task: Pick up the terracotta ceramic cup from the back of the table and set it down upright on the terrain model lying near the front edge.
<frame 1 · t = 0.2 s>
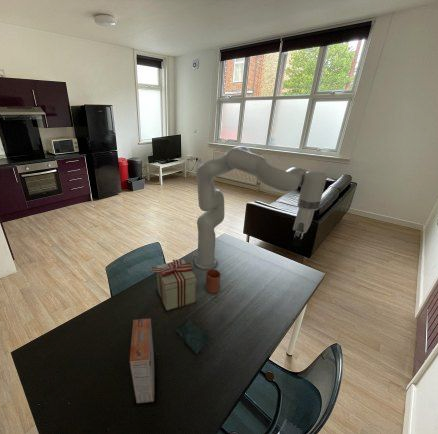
hand: (299, 241, 100), 31 cm above the table, tool pointing down, fingers open, 9 cm apart
gift box: (173, 295, 115), on the table
cup: (212, 288, 119), on the table
terrain model: (192, 337, 94), on the table
cracker box: (145, 380, 80), on the table
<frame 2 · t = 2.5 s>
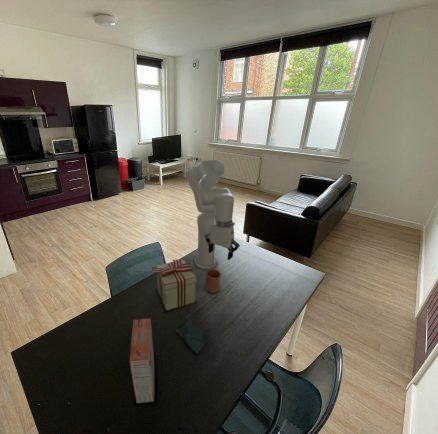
hand: (220, 255, 110), 20 cm above the table, tool pointing down, fingers open, 9 cm apart
nothing on the table moved.
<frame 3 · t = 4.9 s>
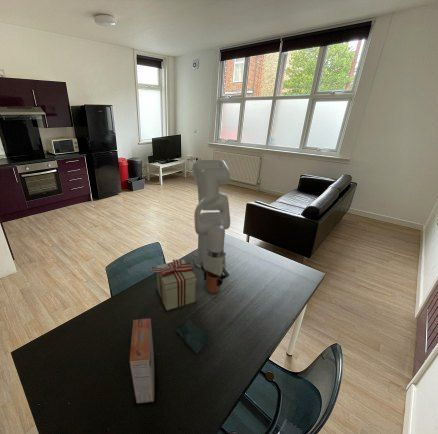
hand: (212, 281, 118), 4 cm above the table, tool pointing down, fingers closed on cup, 6 cm apart
cup: (212, 288, 119), on the table, touching gripper
everything else where it was.
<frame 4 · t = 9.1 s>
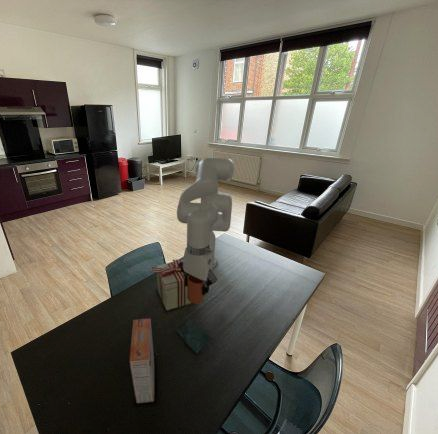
hand: (196, 288, 87), 22 cm above the table, tool pointing down, fingers closed on cup, 6 cm apart
cup: (196, 296, 89), point 18 cm above the table, touching gripper
everything else where it was.
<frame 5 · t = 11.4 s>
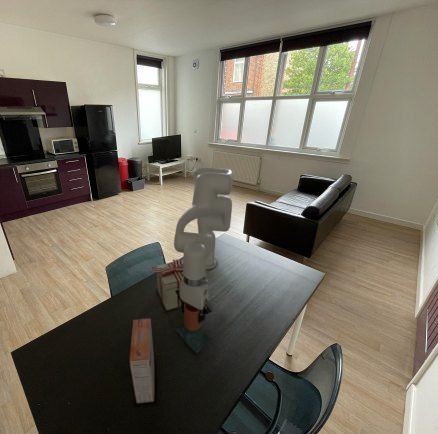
hand: (192, 315, 89), 12 cm above the table, tool pointing down, fingers closed on cup, 6 cm apart
cup: (192, 323, 91), point 8 cm above the table, touching gripper
everything else where it was.
when the fingers open (6 cm above the table, at t = 13.3 s): cup stays where it is, resting on terrain model.
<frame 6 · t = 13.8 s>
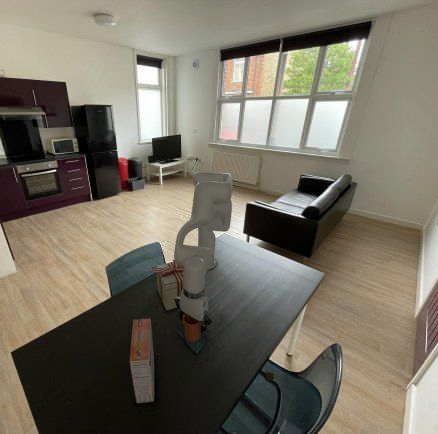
hand: (192, 324, 91), 7 cm above the table, tool pointing down, fingers open, 9 cm apart
cup: (192, 333, 93), point 2 cm above the table, touching terrain model
terrain model: (192, 337, 94), on the table, touching cup
everything else where it was.
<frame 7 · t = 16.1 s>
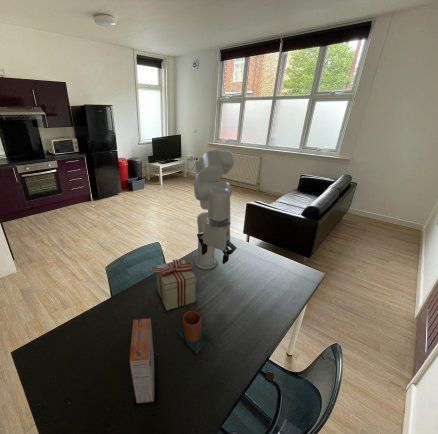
hand: (214, 257, 97), 27 cm above the table, tool pointing down, fingers open, 9 cm apart
nothing on the table moved.
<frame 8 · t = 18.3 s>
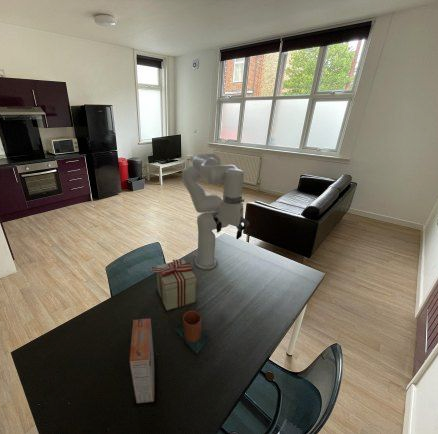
hand: (228, 234, 107), 30 cm above the table, tool pointing down, fingers open, 9 cm apart
nothing on the table moved.
at the end: cup inside the target area on the terrain model (0.1 cm from its centre), point 2.1 cm above the terrain model's base; cup tilted 3°; the gripper is holding nothing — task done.
